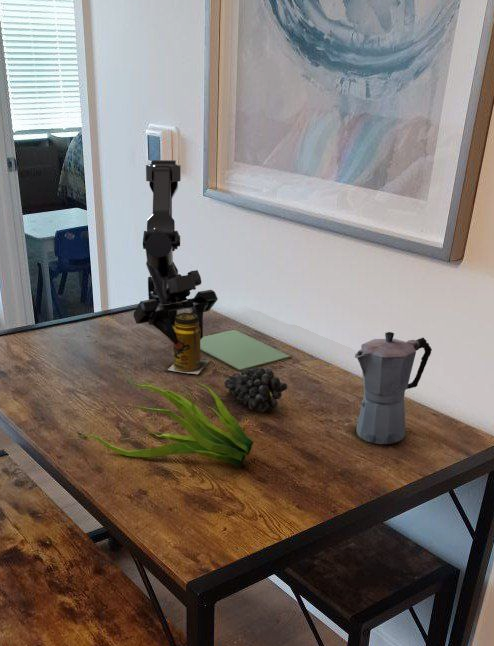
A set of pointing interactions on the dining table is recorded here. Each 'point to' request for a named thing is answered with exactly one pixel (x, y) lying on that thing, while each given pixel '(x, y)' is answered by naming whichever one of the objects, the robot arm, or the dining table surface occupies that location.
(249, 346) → the mat
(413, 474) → the dining table surface
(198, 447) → the decorative plant
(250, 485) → the dining table surface
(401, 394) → the moka pot
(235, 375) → the fruit
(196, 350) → the condiment
